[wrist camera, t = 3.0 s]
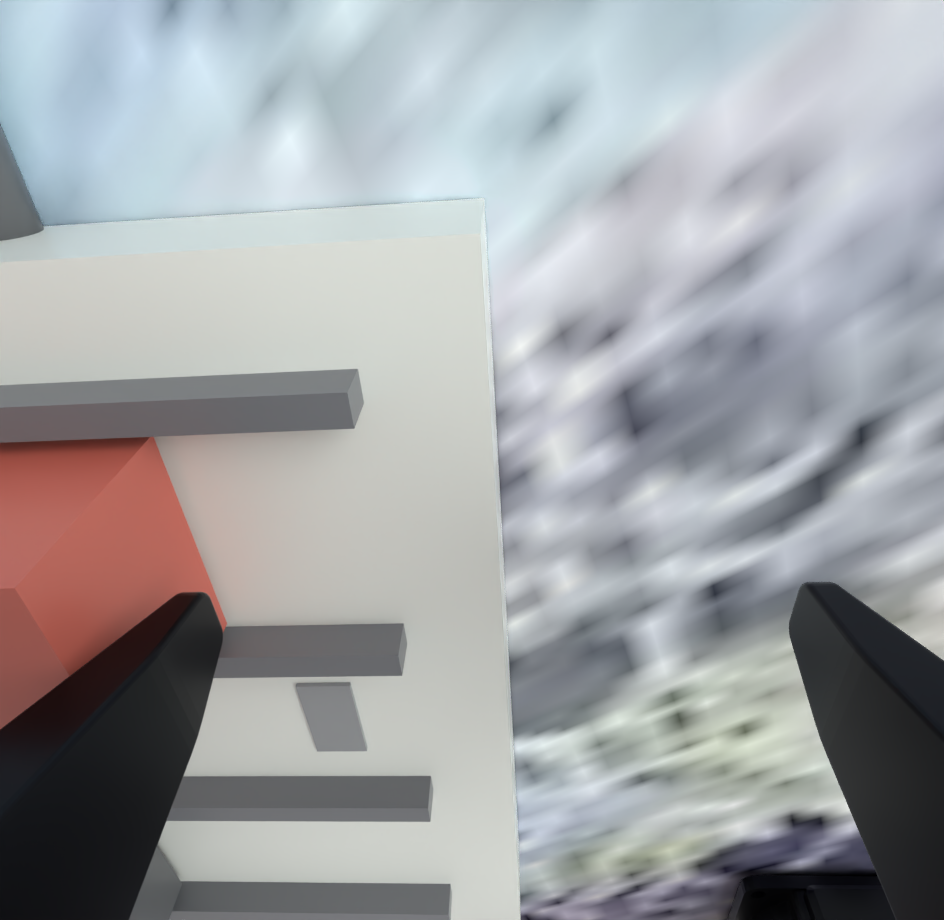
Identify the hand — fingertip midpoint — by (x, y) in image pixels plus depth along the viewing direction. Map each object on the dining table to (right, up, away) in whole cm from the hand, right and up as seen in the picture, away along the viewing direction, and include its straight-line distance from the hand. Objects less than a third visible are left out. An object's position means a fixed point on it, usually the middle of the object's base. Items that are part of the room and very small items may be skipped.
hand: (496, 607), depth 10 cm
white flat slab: (-8, 0, +6) cm, 10 cm away
